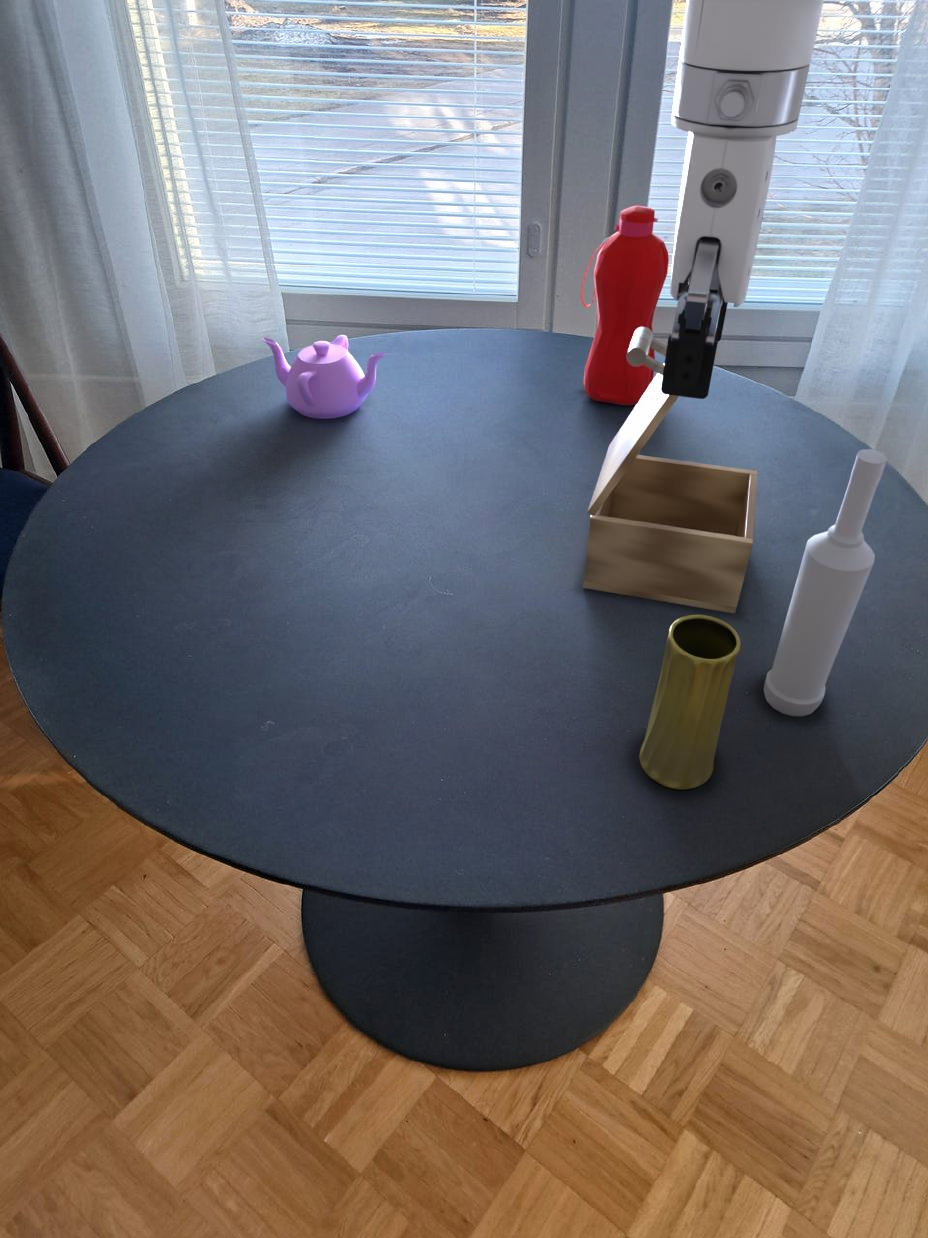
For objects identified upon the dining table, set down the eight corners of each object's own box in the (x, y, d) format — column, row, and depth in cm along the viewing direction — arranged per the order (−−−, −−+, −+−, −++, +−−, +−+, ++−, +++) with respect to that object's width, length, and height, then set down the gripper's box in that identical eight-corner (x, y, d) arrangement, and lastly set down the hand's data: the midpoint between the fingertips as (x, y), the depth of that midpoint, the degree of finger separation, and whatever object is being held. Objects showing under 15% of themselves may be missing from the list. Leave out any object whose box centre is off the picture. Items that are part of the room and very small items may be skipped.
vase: (647, 727, 77) (671, 602, 67) (718, 746, 75) (752, 621, 66) (631, 778, 72) (655, 653, 63) (706, 800, 71) (741, 674, 61)
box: (741, 538, 98) (757, 470, 92) (735, 613, 88) (753, 543, 83) (603, 517, 102) (611, 451, 96) (582, 587, 92) (590, 518, 86)
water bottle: (581, 373, 131) (596, 193, 114) (654, 383, 128) (680, 201, 111) (566, 400, 124) (579, 214, 108) (642, 412, 121) (668, 222, 105)
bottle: (804, 674, 82) (886, 435, 65) (831, 714, 78) (925, 471, 61) (752, 681, 81) (821, 442, 65) (776, 722, 77) (857, 478, 61)
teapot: (271, 395, 126) (261, 335, 120) (362, 376, 130) (356, 318, 125) (295, 431, 118) (285, 369, 112) (390, 410, 122) (386, 349, 116)
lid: (701, 322, 84) (653, 294, 84) (688, 382, 74) (633, 351, 74) (615, 449, 96) (572, 425, 95) (594, 516, 86) (546, 489, 85)
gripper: (798, 132, 45) (735, 427, 57) (805, 75, 58) (752, 326, 69) (654, 124, 47) (620, 412, 58) (691, 70, 60) (657, 315, 71)
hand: (691, 365), depth 64 cm, fingers open, 9 cm apart
